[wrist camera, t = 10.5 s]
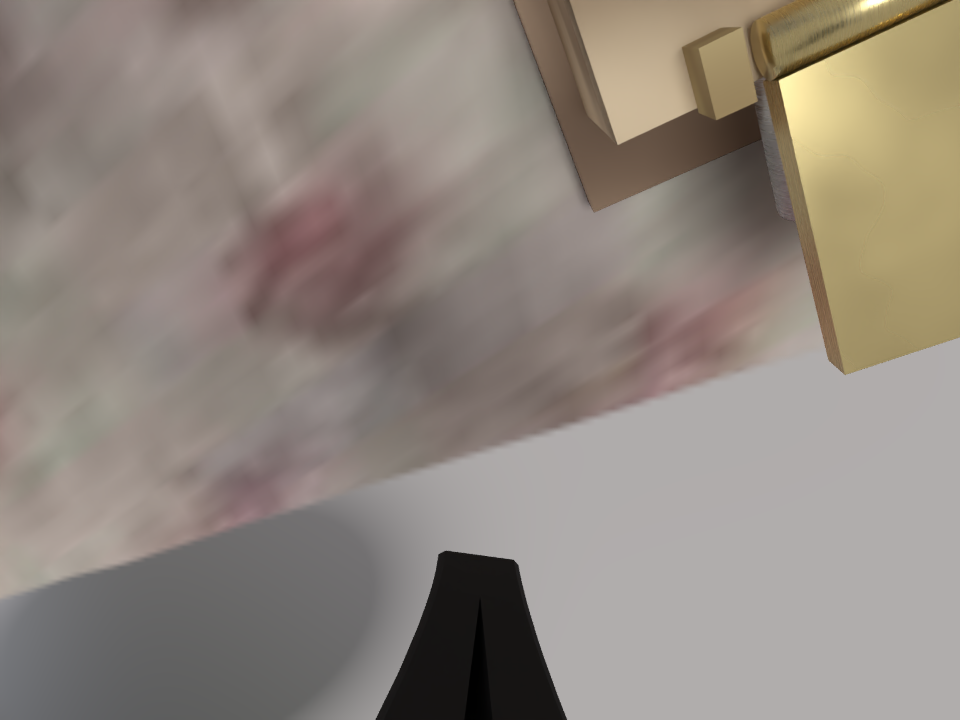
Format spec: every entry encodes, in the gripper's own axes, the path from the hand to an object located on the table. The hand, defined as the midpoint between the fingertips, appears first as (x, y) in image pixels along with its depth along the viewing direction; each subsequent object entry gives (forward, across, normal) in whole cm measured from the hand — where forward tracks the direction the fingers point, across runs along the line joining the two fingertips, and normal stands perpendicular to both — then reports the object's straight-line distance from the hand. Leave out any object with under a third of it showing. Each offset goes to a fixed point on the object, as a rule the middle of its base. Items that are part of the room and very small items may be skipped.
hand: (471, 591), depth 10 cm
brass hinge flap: (+5, -7, -8) cm, 11 cm away
